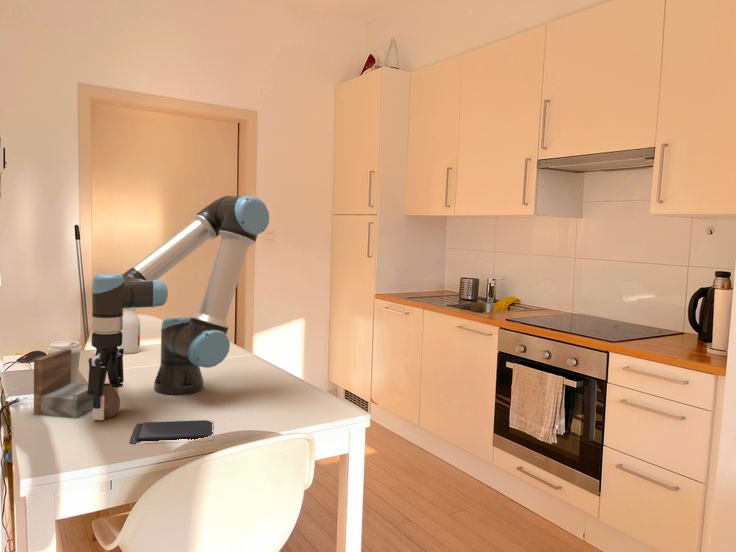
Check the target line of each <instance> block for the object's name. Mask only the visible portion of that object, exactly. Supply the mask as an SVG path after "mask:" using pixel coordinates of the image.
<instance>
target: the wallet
mask: <svg viewBox="0 0 736 552" xmlns="http://www.w3.org/2000/svg"><path fill="white" fill-rule="evenodd" d="M210 421H211V420H207V419H205V420H204V419H203V420H202V419H200V420H199V419H198V420H176V421H175V420H174V421H170V420H169V421H167V420H166V421H144V422H140V423H136V425H135V427H134V428H133V431H132V433H131V436H130V439H129V441H130V442H128V443H130V444H136V443H139V442H141V441H159V440H177V439H178V440H179V439H188V440H189V439H191V440H192V439H194V440H195V439H198V438H204V437H208V436H211V435H212V434H213V432H212V422H210ZM130 444H129V445H130Z"/></svg>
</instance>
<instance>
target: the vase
mask: <svg viewBox="0 0 736 552" xmlns="http://www.w3.org/2000/svg"><path fill="white" fill-rule="evenodd" d="M102 395H104V419H111V418H113V417H115V415H116V414H117V413H118V412H119V410H120V405H121V398H120V395H118V393H117V392H116V390H115V389H114V388H113V387H112V384H110V383H109V382H108V383H106V382H105V384H104V389H103V394H102ZM91 410H93V401H92V409H91Z"/></svg>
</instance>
